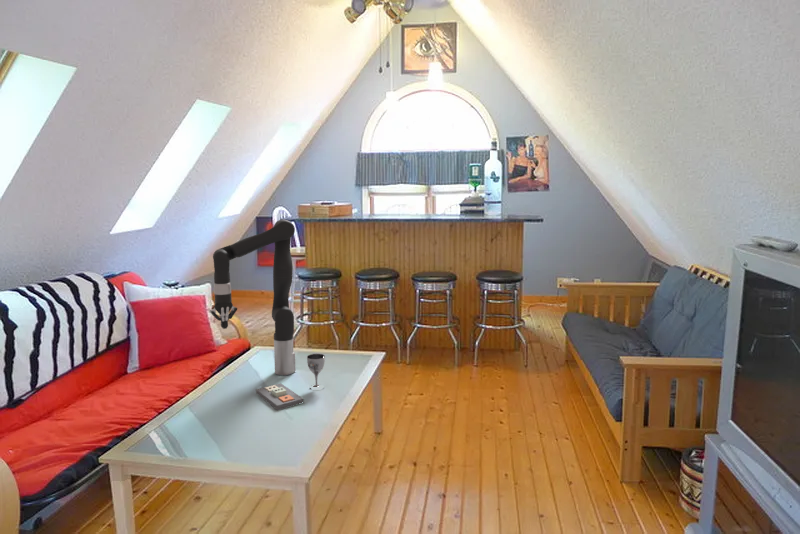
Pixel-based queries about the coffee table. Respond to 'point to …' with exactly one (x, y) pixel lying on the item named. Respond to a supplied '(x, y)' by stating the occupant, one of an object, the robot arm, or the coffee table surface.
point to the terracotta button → (286, 398)
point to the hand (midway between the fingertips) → (224, 328)
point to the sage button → (279, 392)
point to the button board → (275, 400)
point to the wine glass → (316, 364)
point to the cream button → (270, 388)
